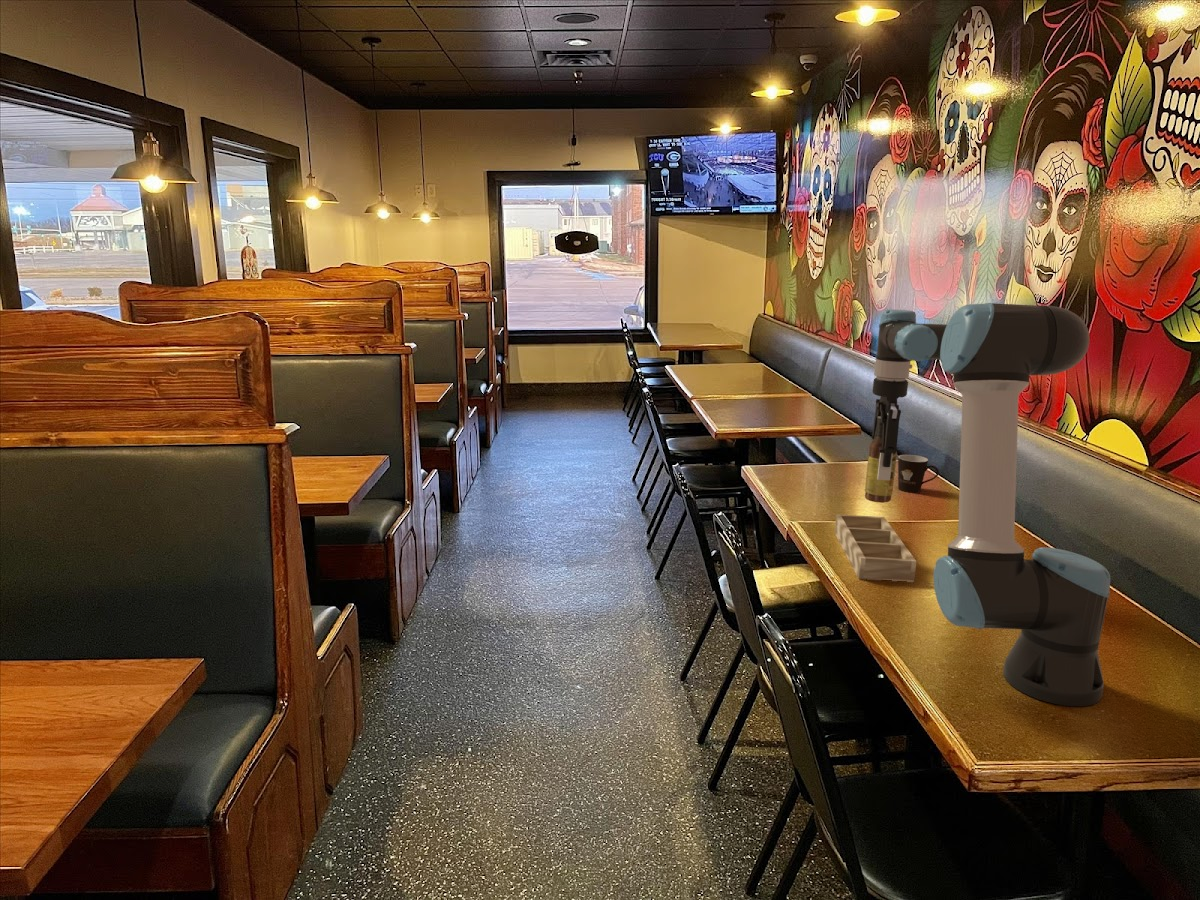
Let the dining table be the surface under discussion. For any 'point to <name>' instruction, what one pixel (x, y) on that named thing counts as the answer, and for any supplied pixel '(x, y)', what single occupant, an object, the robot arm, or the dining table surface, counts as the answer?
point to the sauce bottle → (875, 487)
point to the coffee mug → (912, 472)
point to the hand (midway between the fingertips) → (880, 475)
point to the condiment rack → (874, 548)
